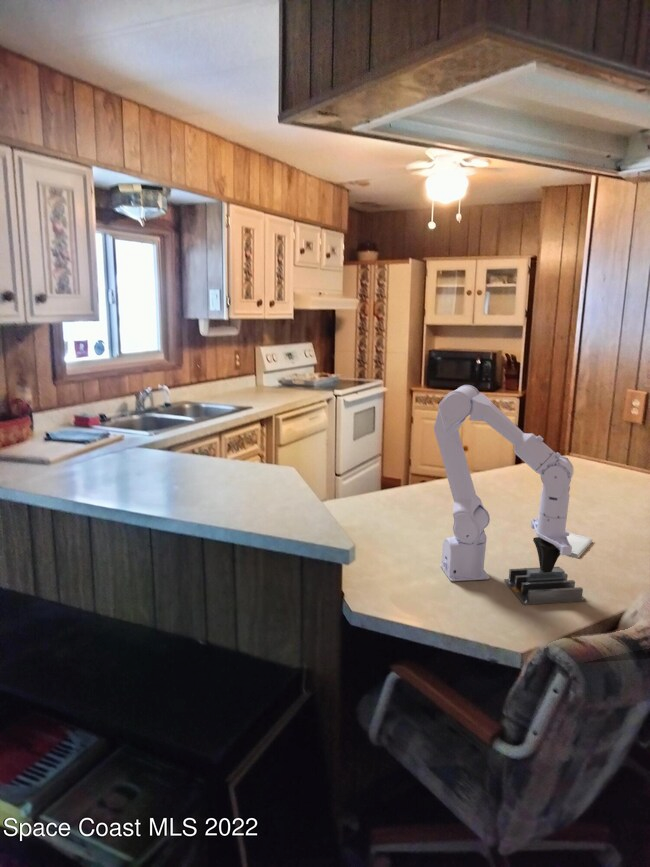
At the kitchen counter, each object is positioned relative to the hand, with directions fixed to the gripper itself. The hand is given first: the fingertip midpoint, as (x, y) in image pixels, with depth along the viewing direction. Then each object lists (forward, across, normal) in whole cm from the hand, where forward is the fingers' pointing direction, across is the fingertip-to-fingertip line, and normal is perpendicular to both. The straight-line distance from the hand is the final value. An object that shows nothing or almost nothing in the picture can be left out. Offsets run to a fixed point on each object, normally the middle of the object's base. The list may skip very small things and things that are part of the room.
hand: (546, 570), depth 134 cm
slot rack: (+5, 0, 0) cm, 5 cm away
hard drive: (+6, +22, -18) cm, 29 cm away
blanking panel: (+4, 0, 0) cm, 4 cm away
